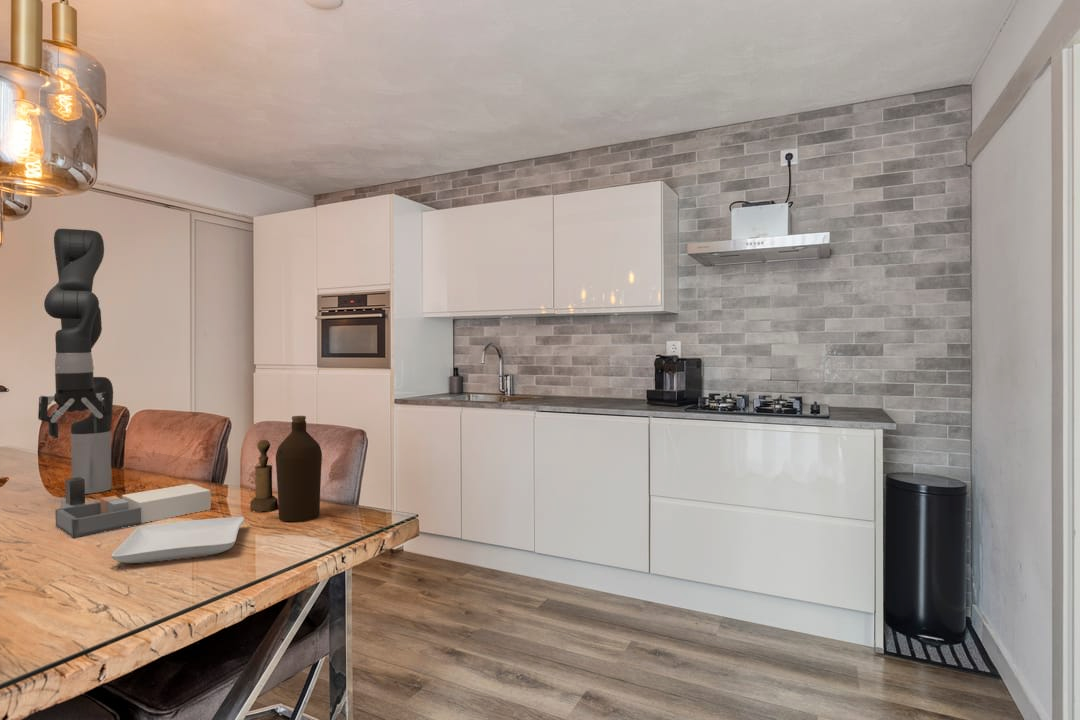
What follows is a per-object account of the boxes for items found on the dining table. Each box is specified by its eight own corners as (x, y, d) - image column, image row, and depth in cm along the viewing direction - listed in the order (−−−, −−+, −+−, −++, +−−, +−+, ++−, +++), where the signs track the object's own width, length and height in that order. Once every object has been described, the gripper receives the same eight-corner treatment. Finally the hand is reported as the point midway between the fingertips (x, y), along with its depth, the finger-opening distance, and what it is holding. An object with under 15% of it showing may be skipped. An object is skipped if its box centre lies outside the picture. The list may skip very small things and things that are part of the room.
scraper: (59, 510, 154) (58, 475, 153) (73, 508, 156) (73, 473, 156) (77, 522, 144) (76, 485, 143) (92, 519, 146) (91, 482, 146)
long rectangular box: (122, 514, 149) (122, 495, 149) (191, 502, 161) (191, 483, 161) (139, 523, 141) (139, 502, 141) (210, 509, 154) (210, 490, 154)
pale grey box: (122, 517, 144) (107, 520, 142) (122, 498, 144) (107, 501, 141) (128, 520, 141) (113, 523, 139) (128, 501, 141) (113, 504, 139)
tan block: (115, 513, 147) (100, 516, 145) (115, 495, 147) (100, 498, 145) (121, 517, 144) (106, 519, 142) (120, 498, 144) (105, 501, 142)
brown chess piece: (244, 510, 153) (243, 441, 153) (264, 504, 159) (264, 437, 159) (263, 513, 150) (263, 442, 150) (283, 507, 156) (283, 439, 156)
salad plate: (138, 539, 131) (138, 524, 131) (245, 528, 139) (245, 514, 139) (108, 573, 111) (108, 555, 111) (235, 559, 119) (235, 542, 119)
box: (55, 526, 139) (55, 509, 139) (120, 514, 149) (120, 498, 149) (73, 538, 131) (72, 520, 130) (141, 524, 141) (140, 507, 141)
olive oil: (309, 524, 142) (309, 419, 141) (267, 522, 143) (266, 418, 142) (329, 511, 152) (329, 414, 152) (290, 510, 153) (289, 413, 153)
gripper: (103, 368, 157) (105, 430, 157) (33, 371, 145) (36, 437, 146) (113, 370, 152) (115, 433, 153) (42, 373, 141) (44, 441, 141)
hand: (76, 435), depth 149 cm, fingers open, 8 cm apart
